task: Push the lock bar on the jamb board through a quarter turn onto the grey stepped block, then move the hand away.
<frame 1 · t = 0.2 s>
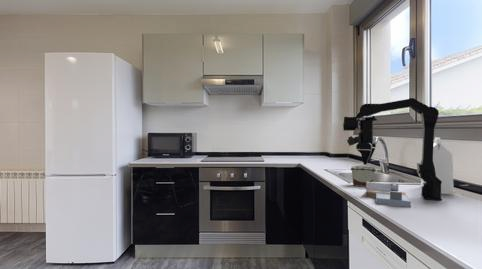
hand: (366, 163, 135), 14 cm above the counter, fingers open, 9 cm apart
lock bar: (382, 186, 127), point 4 cm above the counter, hinge at 0.0°
jamb board: (385, 196, 128), on the counter
food container: (363, 185, 151), on the counter
grey stepped block: (392, 202, 117), on the counter
milk: (436, 191, 139), on the counter
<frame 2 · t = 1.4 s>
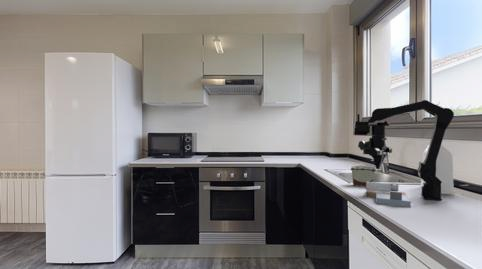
hand: (377, 168, 133), 11 cm above the counter, fingers closed
nothing on the counter moved.
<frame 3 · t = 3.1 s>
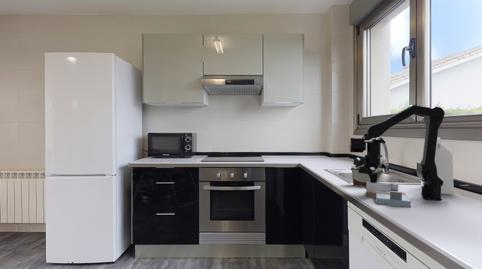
hand: (373, 186, 131), 4 cm above the counter, fingers closed
lock bar: (382, 186, 127), point 4 cm above the counter, hinge at 1.8°, touching gripper
everything else where it was.
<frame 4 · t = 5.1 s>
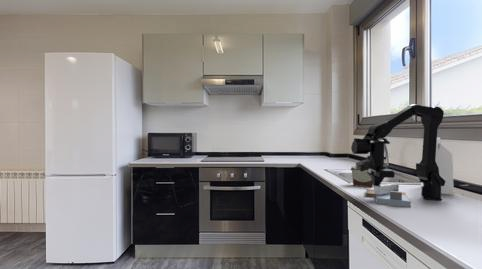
hand: (375, 189, 124), 4 cm above the counter, fingers closed
lock bar: (386, 188, 123), point 4 cm above the counter, hinge at 51.7°, touching gripper
everything else where it was.
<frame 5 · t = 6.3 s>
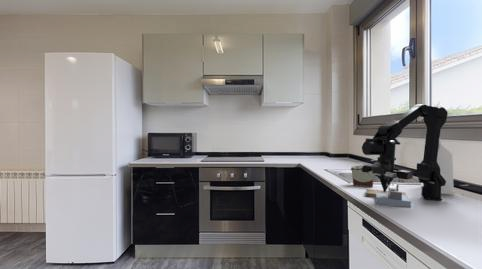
hand: (384, 191, 119), 4 cm above the counter, fingers closed
lock bar: (392, 189, 121), point 4 cm above the counter, hinge at 83.0°, touching gripper
everything else where it was.
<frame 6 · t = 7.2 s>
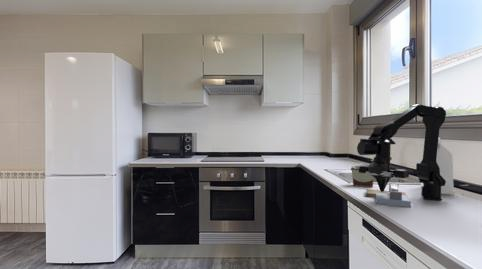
hand: (382, 191, 120), 4 cm above the counter, fingers closed
lock bar: (394, 189, 121), point 4 cm above the counter, hinge at 88.4°
everything else where it was.
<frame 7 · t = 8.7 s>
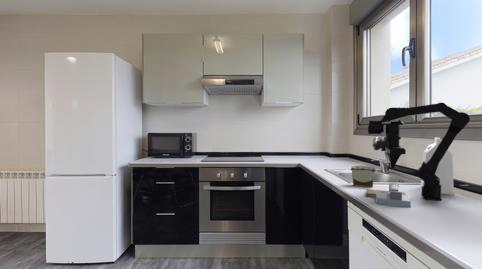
hand: (392, 168, 133), 12 cm above the counter, fingers closed
nothing on the counter moved.
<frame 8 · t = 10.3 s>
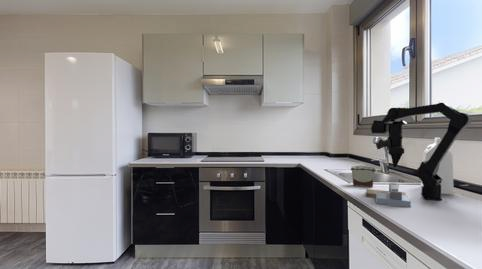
hand: (394, 167, 135), 12 cm above the counter, fingers closed
nothing on the counter moved.
at the end: lock bar at +88° (first picture: +0°); the gripper is holding nothing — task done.
